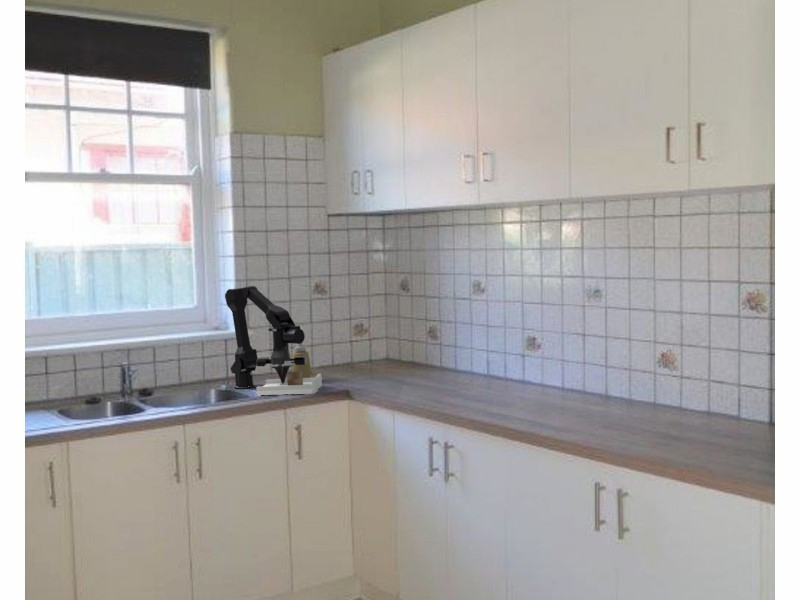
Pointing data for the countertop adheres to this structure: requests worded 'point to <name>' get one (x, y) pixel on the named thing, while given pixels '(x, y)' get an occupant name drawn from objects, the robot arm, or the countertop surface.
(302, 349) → the squeeze bottle
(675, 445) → the countertop surface
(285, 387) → the board
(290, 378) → the block
